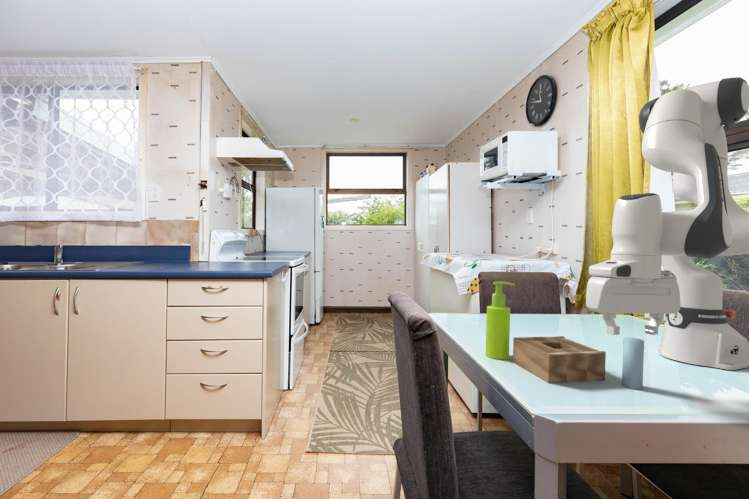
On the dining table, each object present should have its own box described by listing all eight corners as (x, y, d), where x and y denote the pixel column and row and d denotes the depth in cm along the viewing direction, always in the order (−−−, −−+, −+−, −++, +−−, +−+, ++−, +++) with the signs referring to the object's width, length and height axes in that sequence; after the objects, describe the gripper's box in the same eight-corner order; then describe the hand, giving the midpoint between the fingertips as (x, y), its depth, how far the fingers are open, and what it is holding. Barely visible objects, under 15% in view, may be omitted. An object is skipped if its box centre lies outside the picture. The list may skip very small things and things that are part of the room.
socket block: (562, 360, 95) (562, 336, 95) (604, 380, 81) (605, 351, 81) (512, 362, 93) (513, 337, 93) (548, 382, 79) (549, 353, 79)
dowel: (632, 382, 80) (633, 337, 80) (646, 389, 77) (648, 341, 76) (617, 383, 79) (619, 337, 79) (632, 390, 76) (633, 342, 76)
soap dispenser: (514, 360, 94) (516, 283, 94) (486, 358, 95) (488, 282, 95) (511, 354, 100) (512, 281, 99) (484, 352, 101) (486, 280, 101)
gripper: (662, 269, 82) (660, 330, 82) (582, 266, 79) (579, 330, 79) (690, 271, 76) (688, 337, 76) (605, 268, 73) (602, 337, 73)
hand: (632, 334), depth 78 cm, fingers open, 8 cm apart
